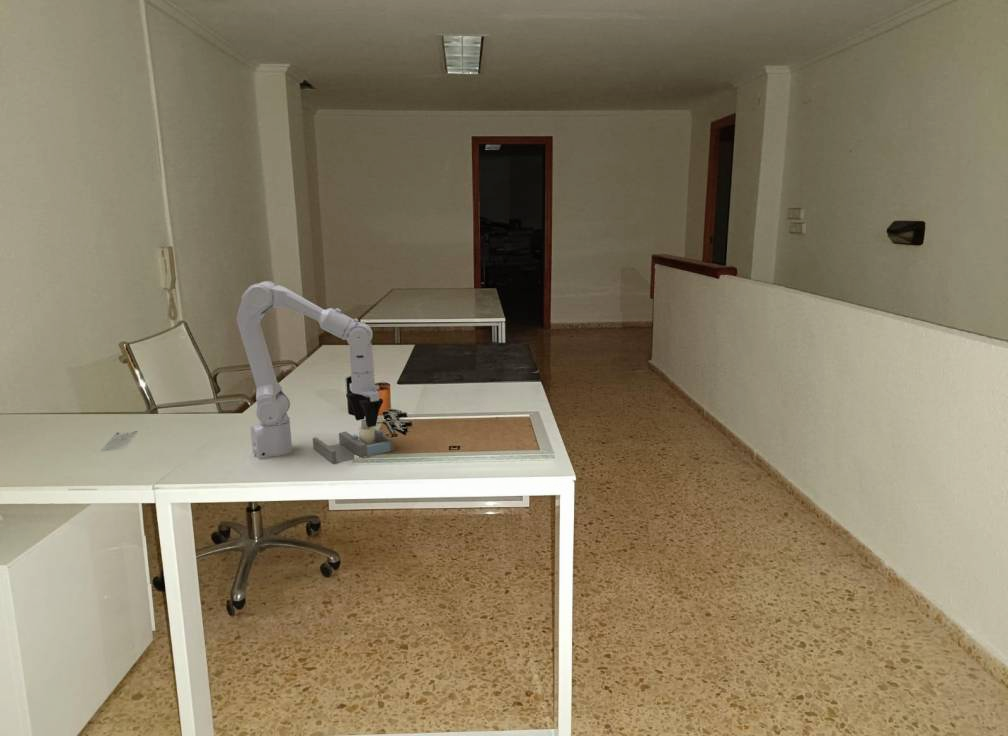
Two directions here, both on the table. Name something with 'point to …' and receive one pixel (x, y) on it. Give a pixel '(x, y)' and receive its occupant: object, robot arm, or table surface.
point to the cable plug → (366, 433)
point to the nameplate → (396, 421)
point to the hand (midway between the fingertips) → (365, 422)
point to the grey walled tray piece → (352, 447)
